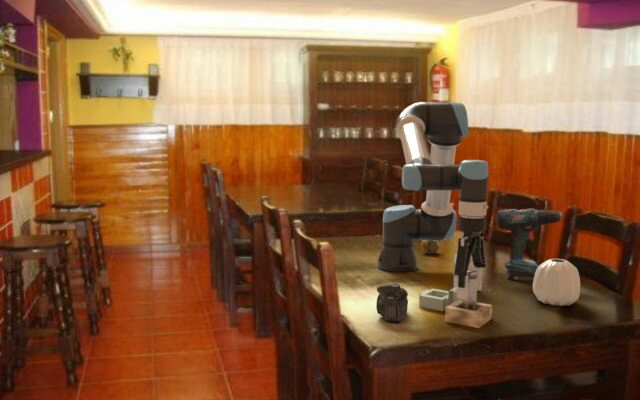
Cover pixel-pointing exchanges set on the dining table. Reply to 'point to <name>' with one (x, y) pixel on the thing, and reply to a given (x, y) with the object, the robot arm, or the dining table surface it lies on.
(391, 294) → the camera
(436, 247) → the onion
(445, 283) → the dining table surface
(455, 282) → the ink box
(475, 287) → the metal peg
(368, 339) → the dining table surface
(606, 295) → the dining table surface
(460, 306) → the block
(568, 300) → the vase
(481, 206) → the robot arm
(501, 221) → the power drill
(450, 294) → the socket block
